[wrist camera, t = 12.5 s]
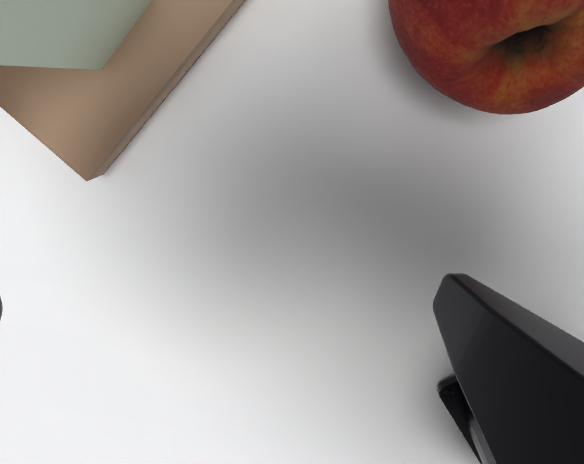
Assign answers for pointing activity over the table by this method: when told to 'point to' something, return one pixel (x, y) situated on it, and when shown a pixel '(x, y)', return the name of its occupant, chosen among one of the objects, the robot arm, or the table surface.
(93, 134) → the bookend shelf
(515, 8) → the apple
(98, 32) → the pale green block
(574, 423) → the robot arm
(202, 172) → the table surface
